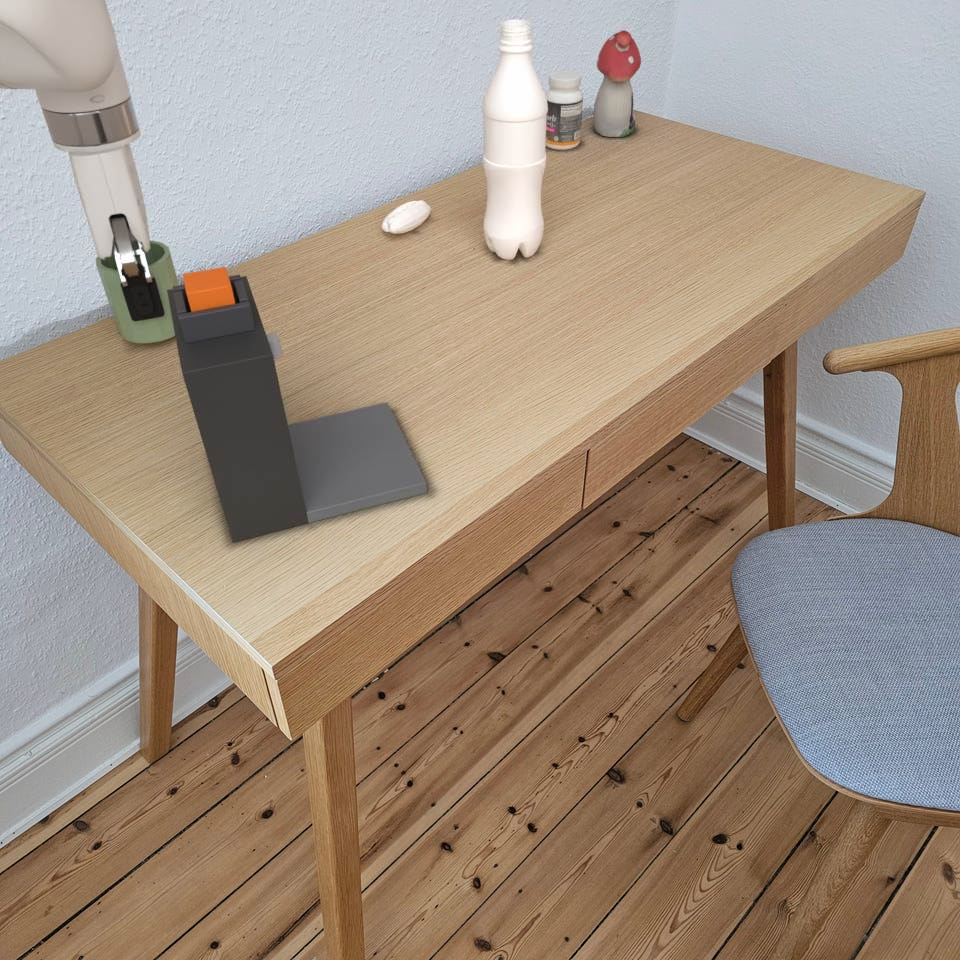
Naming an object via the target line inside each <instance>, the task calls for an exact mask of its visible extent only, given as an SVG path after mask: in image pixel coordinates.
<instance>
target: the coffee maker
mask: <svg viewBox="0 0 960 960" xmlns="http://www.w3.org/2000/svg"><path fill="white" fill-rule="evenodd" d="M228 276H229V280H230V283H231V286H232V291H233V295H234V299H235V303H236V304H232V305H226V306H221V307H216V308H210V309H205V310H200V311H194V312H191V308H190V305H189V301H188V297H187V294H186V289H185V285H184V283H183V284H179V285H178V286H173V289H170V290H167V294H168V299H169V305H170V310H171V316H172V321H173V326H174V332H175V336H174V337H175V342H176V348H177V353H178V359H179V363H180V364H179V365H180V369H181V374H182V377H183V381H184V384H185V387H186V391H187V395H188V397H189V401H190V404H191V408H192V410H193V411H192V412H193V414H194V417H195V421H196V424H197V428H198V431H199V434H200V438H201V440H202V444H203V447H204V451H205V455H206V458H207V461H208V464H209V468H210V471H211V474H212V477H213V478H212V479H213V481H214V484H215V487H216V491H217V494H218V497H219V501H220V504H221V507H222V511H223V514H224V518H225V521H226V524H227V527H228V531H229V534H230V535H229V536H230V538H231V540H232V543H233V544H234V543H238V542H241V541H246V540H250V539H254V538H257V537H261V536H265V535H268V534H273V533H277V532H281V531H285V530H288V529H293V528H297V527H301V526H305V525H308V524H309V523H310V524H311V523H314V522H319V521H323V520H326V519H331V518H334V517H337V516H342V515H346V514H351V513H353V512H358V511H362V510H366V509H369V508H373V507H377V506H381V505H385V504H389V503H393V502H398V501H400V500H405V499H409V498H413V497H417V496H419V495H424V494H427V493H428V485H427V481H426V478H425V477H424V475H423V473H422V470H421V468H420V466H419V464H418V462H417V460H416V458H415V456H414V454H413V452H412V450H411V448H410V446H409V444H408V441H407V439H406V437H405V435H404V433H403V431H402V429H401V428H400V425H399V423H398V421H397V419H396V417H395V416H394V413H393V411H392V409H391V407H390V405H389V402H382V403H378V404H377V403H376V404H373V405H369V406H363V407H361V408H360V407H359V408H355V409H351V410H347V411H343V412H338V413H333V414H330V415H324V416H320V417H315V418H311V419H307V420H302V421H299V422H293V423H288V419H287V414H286V410H285V404H284V401H283V395H282V391H281V386H280V382H279V377H278V376H279V375H278V372H277V367H276V362H275V360H277V359H281V358H282V356H283V354H284V352H283V349H282V343H281V338H280V335H279V334H278V333H276V332H269V333H266V330H265V327H264V324H263V321H262V319H261V316H260V315H261V314H260V312H259V308H258V305H257V303H256V300H255V297H254V294H253V292H252V288H251V285H250V281H249V280H248V276H247V275H241V274H240V273H239V274H234V275H228Z"/></svg>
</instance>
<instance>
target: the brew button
mask: <svg viewBox="0 0 960 960" xmlns="http://www.w3.org/2000/svg"><path fill="white" fill-rule="evenodd" d="M229 276H230V275H229V274H228V269H227V267H226V266H222V267H216V268H210V269H204V270H199V271H193V272H188V273H182V279H183V284H184V285H185V289H186V294H187V297H188V301H189V305H190V308H191V312H194V311H200V310H205V309H210V308H216V307H221V306H226V305H232V304H236V303H235V299H234V295H233V291H232V286H231V283H230V280H229Z"/></svg>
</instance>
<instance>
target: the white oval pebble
mask: <svg viewBox="0 0 960 960" xmlns="http://www.w3.org/2000/svg"><path fill="white" fill-rule="evenodd" d="M431 210H432V208H431V206H430V205H429V204H428V203H427V202H425V201H424V200H423V199H419V200H412V201H408V202H405V203H402V204H401V205H398V206H397V207H395V208H394V209H393V210H391V212H389V213H388V214H387V215H386V216H385V218H384V219H383V220H382V223H381V229H382V231H383V232H385V233H390V234H395V235H400V234H404V233H407V232H410V231H413V230H414V229H416V228H418V227H419V226H421V225H422V224H423V223H424V222H425V221H426V220H427V219H428V217H429V215H430V213H431Z"/></svg>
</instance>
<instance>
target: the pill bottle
mask: <svg viewBox="0 0 960 960" xmlns="http://www.w3.org/2000/svg"><path fill="white" fill-rule="evenodd" d="M581 84H582V75H581V73H580V72H578V71H574V70H567V69H566V70H565V69H564V70H554V71H552V72H550V73H549V74H548V86H549V89H548V90H546V92H545V94H546V98H547V103H548V112H547V119H546V146H545V147H547V148H549V149H552V150H559V151H565V150H571V149H575V148H576V147H578V146H579V145H580V144H581V135H582V119H583V105H584V94H583V92H582V90H581V89H579V87H580V86H581Z"/></svg>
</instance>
